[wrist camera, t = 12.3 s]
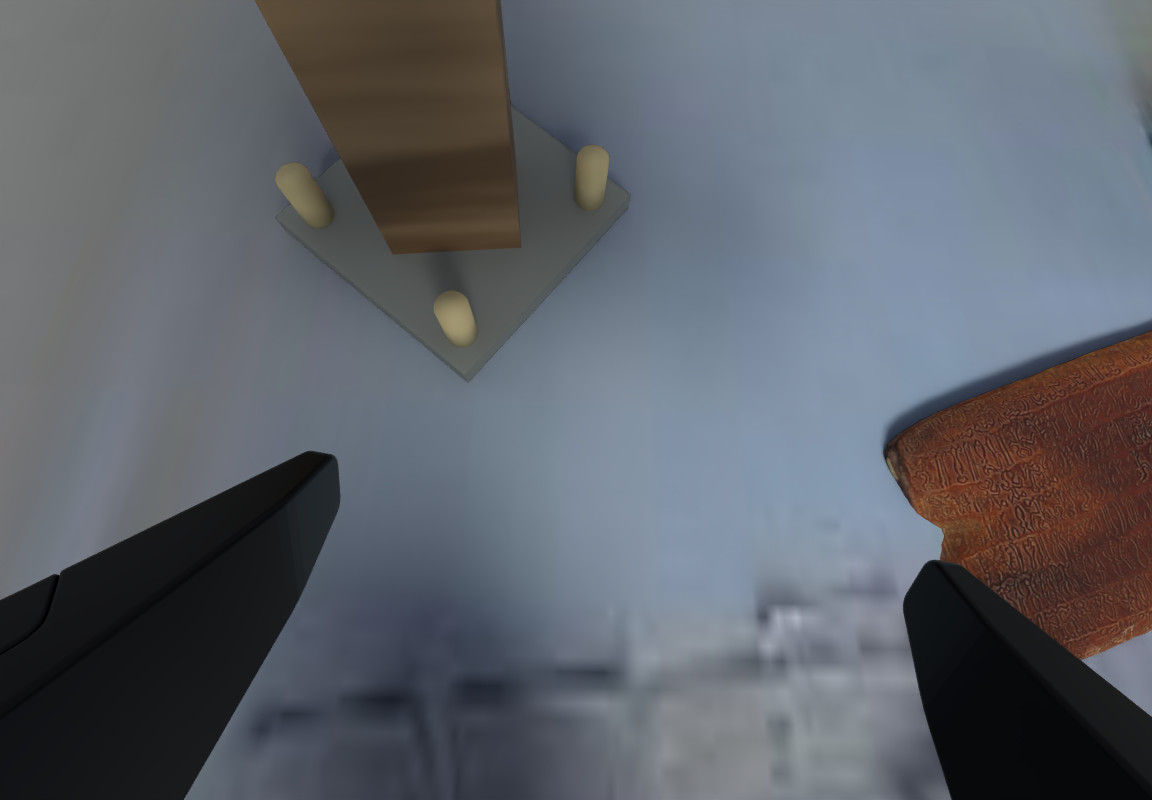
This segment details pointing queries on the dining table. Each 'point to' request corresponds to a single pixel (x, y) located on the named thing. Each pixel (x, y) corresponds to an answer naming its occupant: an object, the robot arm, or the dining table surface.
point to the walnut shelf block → (413, 112)
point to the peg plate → (463, 278)
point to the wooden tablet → (1048, 493)
